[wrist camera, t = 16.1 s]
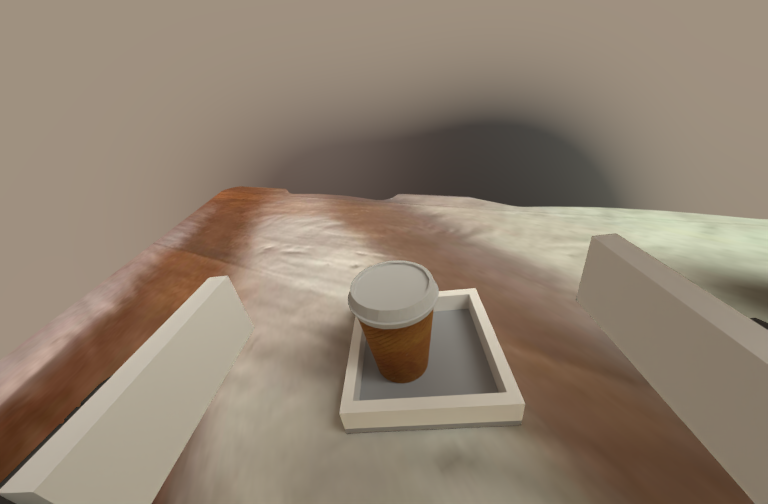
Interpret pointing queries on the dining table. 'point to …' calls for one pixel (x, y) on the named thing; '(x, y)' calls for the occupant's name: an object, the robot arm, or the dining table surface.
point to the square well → (436, 377)
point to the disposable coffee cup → (396, 316)
